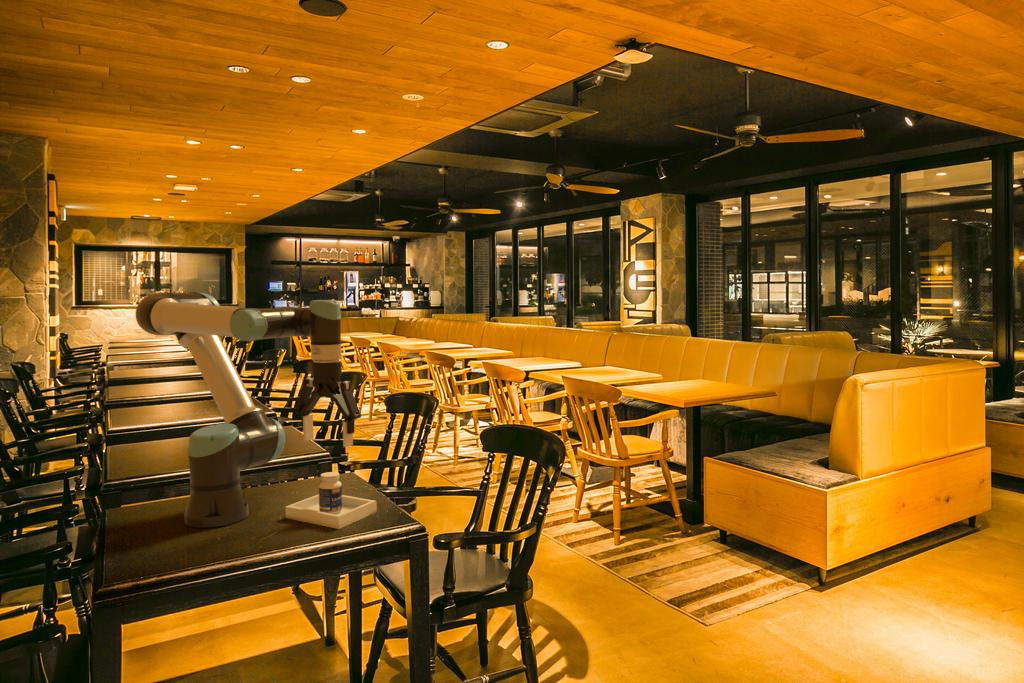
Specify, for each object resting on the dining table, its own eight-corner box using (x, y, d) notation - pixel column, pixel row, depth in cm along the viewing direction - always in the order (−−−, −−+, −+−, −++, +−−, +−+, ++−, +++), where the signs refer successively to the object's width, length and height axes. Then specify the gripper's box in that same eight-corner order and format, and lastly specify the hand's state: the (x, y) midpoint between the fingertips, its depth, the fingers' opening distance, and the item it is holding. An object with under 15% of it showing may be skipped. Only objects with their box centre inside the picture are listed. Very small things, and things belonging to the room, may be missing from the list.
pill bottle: (336, 516, 172) (334, 477, 171) (315, 514, 173) (314, 476, 173) (346, 508, 178) (345, 471, 177) (326, 507, 179) (324, 470, 178)
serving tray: (285, 518, 174) (285, 506, 174) (325, 502, 186) (324, 491, 186) (339, 529, 165) (338, 516, 165) (376, 512, 177) (376, 500, 177)
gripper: (279, 359, 175) (281, 440, 177) (353, 365, 163) (355, 452, 165) (301, 356, 182) (303, 434, 184) (374, 362, 170) (375, 445, 172)
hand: (327, 443), depth 174 cm, fingers open, 13 cm apart
